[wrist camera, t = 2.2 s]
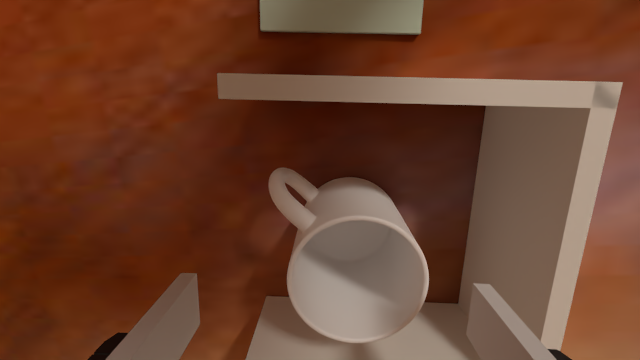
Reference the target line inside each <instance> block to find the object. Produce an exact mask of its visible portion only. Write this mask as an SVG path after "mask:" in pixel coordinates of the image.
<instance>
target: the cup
mask: <svg viewBox="0 0 640 360" xmlns="http://www.w3.org/2000/svg"><path fill="white" fill-rule="evenodd" d="M285 183H287V184H288V185H290V186H291V187H292V188H294V189H295V190H296V191H297V192H298V193H299V194H300V195H301V196H302V197H303V198H304V199H305V200H306V201H307V202H306V204H305V206H303V205H302V204H301V203H299V202H298V201H297V200H296V199H295V198H294V197H293V196H292V195H291V194H290V193H289V191H288V190H287V188H286V186H285ZM268 187H269V192H270V195H271V198H272V200H273V202H274V204H275V205H276V207H277V208H278V209H279V211H280V212H281V213H282V214H283V215H284V216H285V217H286V218H287V219H288V220H289V221H290V222H291V223H292V224H293V225H295V226H296V227H297V228H298V230H297V234H296V238H295V242H294V246H293V250H292V254H291V258H290V262H289V266H288V270H287V289H288V294H289V297H290V300H291V302H292V305H293V307H294V308H295V310H296V312H297V313H298V315H299V316H300V317H301V318H302V319H303V321H304V322H305V323H306V324H307V325H309V326H310V327H311V328H312V329H314V330H315V331H317V332H318V333H320V334H322V335H324V336H326V337H328V338H331V339H334V340H337V341H341V342H347V343H367V342H373V341H378V340H381V339H384V338H387V337H389V336H391V335H393V334H395V333H397V332H398V331H400V330H401V329H403V328H404V327H405V326H407V325H408V324H409V323H410V322H411V321H412V320H413V319H414V318H415V316H416V315H417V314H418V312H419V311H420V309H421V307H422V305H423V303H424V301H425V298H426V295H427V291H428V286H429V271H428V266H427V262H426V259H425V256H424V254H423V252H422V250H421V249H420V247H419V245H418V244H417V242H416V240H415V238H414V237H413V235H412V233H411V232H410V230H409V228H408V227H407V225H406V223H405V222H404V220H403V218H402V216H401V215H400V213H399V211H398V210H397V208H396V206H395V205H394V203H393V201H392V200H391V198H390V197H389V196H388V195H387V194H386V192H385V191H384V190H382V189H381V188H380V187H379V186H377V185H376V184H374V183H372V182H370V181H368V180H365V179H361V178H356V177H343V178H338V179H334V180H331V181H329V182H327V183H325V184H324V185H322V186H321V187H319V188H318V189H317V188H316V187H315V186H314V185H312V184H311V183H310V182H309V181H308V180H306V179H305V178H304V177H303V176H301V175H300V174H298V173H297V172H295V171H293V170H291V169H288V168H284V167H282V168H278V169H276V170H274V171H273V172H272V174H271V175H270V178H269V184H268Z"/></svg>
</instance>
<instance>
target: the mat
mask: <svg viewBox="0 0 640 360" xmlns="http://www.w3.org/2000/svg"><path fill="white" fill-rule="evenodd" d="M423 1H424V0H260V30H261V31H262V32H306V33H357V34H408V35H419V34H420V33H421V23H422V12H423Z"/></svg>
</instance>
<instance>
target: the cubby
mask: <svg viewBox="0 0 640 360" xmlns="http://www.w3.org/2000/svg"><path fill="white" fill-rule="evenodd" d="M217 83H218V99H246V100H286V101H326V102H366V103H406V104H446V105H486V108H485V115H484V123H483V130H482V137H481V144H480V151H479V158H478V165H477V173H476V180H475V187H474V194H473V201H472V208H471V215H470V222H469V230H468V237H467V244H466V251H465V258H464V265H463V272H462V280H461V287H460V294H459V301H458V304H454V303H429V302H424V303H423V305H422V307H421V309H420V311H419V312H418V314H417V315H416V316H415V318H414V319H413V320H412V321H411V322H410V323H409V324H408V325H407V326H405V327H404V328H403V329H401V330H400V331H398V332H397V333H395V334H393V335H391V336H389V337H387V338H384V339H381V340H378V341H373V342H367V343H347V342H341V341H337V340H334V339H331V338H328V337H326V336H324V335H322V334H320V333H318V332H317V331H315V330H314V329H312V328H311V327H310V326H309V325H307V324H306V323H305V322H304V321H303V319H302V318H301V317H300V316H299V315H298V313H297V312H296V310H295V308H294V307H293V305H292V302H291V300H290V297H281V296H266V299H265V302H264V305H263V308H262V311H261V314H260V317H259V320H258V323H257V326H256V329H255V332H254V335H253V338H252V341H251V344H250V347H249V350H248V354H247V357H246V360H481V359H480V357H479V355H478V354H477V352H476V350H475V349H474V347H473V345H472V343H471V342H470V340H469V338H468V337H467V335H466V331H467V324H468V317H469V310H470V303H471V296H472V289H473V283H476V284H490V285H491V286H492V287H493V288H494V289H495V290H496V292H497V293H498V294H499V295H500V296H501V297H502V298H503V300H504V301H505V302H506V303H507V304H508V305H509V306H510V307H511V309H512V310H513V311H514V312H515V313H516V314H517V315H518V317H519V318H520V319H521V320H522V321H523V322H524V323H525V324H526V326H527V327H528V328H529V329H530V330H531V331H532V332H533V334H534V335H535V336H536V337H537V338H538V339H539V340H540V341H541V343H542V344H543V345H544V346H545V347H546V348H547V349H557V350H559V351H560V350H561V345H562V341H563V337H564V333H565V328H566V324H567V320H568V315H569V311H570V307H571V302H572V298H573V294H574V290H575V285H576V281H577V277H578V272H579V268H580V264H581V259H582V255H583V251H584V247H585V242H586V238H587V234H588V229H589V225H590V221H591V217H592V212H593V208H594V204H595V199H596V195H597V191H598V186H599V182H600V178H601V174H602V169H603V165H604V161H605V156H606V152H607V148H608V144H609V139H610V135H611V131H612V126H613V122H614V118H615V113H616V109H617V105H618V101H619V96H620V92H621V88H622V83H623V82H586V81H543V80H499V79H455V78H412V77H368V76H324V75H281V74H237V73H217Z"/></svg>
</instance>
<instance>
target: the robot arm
mask: <svg viewBox="0 0 640 360" xmlns="http://www.w3.org/2000/svg"><path fill="white" fill-rule="evenodd" d="M199 325H200V313H199V298H198V282H197V273H180V275H179V276H178V277H177V278H176V279H175V280H174V282H173V283H172V284H171V285H170V286H169V287H168V288H167V290H166V291H165V292H164V293H163V294H162V295H161V296H160V298H159V299H158V300H157V301H156V302H155V303H154V304H153V306H152V307H151V308H150V309H149V310H148V311H147V312H146V314H145V315H144V316H143V317H142V318H141V319H140V321H139V322H138V323H137V324H136V325H135V326H134V327H133V329H132V330H131V331H130V332H129V333H117V334H115V335H114V336H112V337H111V338H109V339H108V340H106V341H105V342H104V343H103V344H102V345H101V346H100V347H99V348H98V349H97V350H96V351H95V352H94V355H91V356H90V358H89V359H88V360H179V359H180V357H181V356H182V354H183V352H184V351H185V349H186V347H187V346H188V344H189V342H190V340H191V339H192V337H193V335H194V334H195V332H196V330H197V328H198V327H199ZM466 335H467V337H468V338H469V340H470V342H471V343H472V345H473V347H474V349H475V350H476V352H477V354H478V355H479V357H480V359H481V360H572V359H570V358H569V357H567V356H566V355H564V354H563V353H561V352H560V351H559V350H557V349H547V348H546V347H545V346H544V345H543V344H542V343H541V341H540V340H539V339H538V338H537V337H536V336H535V335H534V334H533V332H532V331H531V330H530V329H529V328H528V327H527V326H526V324H525V323H524V322H523V321H522V320H521V319H520V318H519V317H518V315H517V314H516V313H515V312H514V311H513V310H512V309H511V307H510V306H509V305H508V304H507V303H506V302H505V301H504V300H503V298H502V297H501V296H500V295H499V294H498V293H497V292H496V290H495V289H494V288H493V287H492V286H491V285H490V284H476V283H473V289H472V296H471V303H470V310H469V317H468V324H467V331H466Z"/></svg>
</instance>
